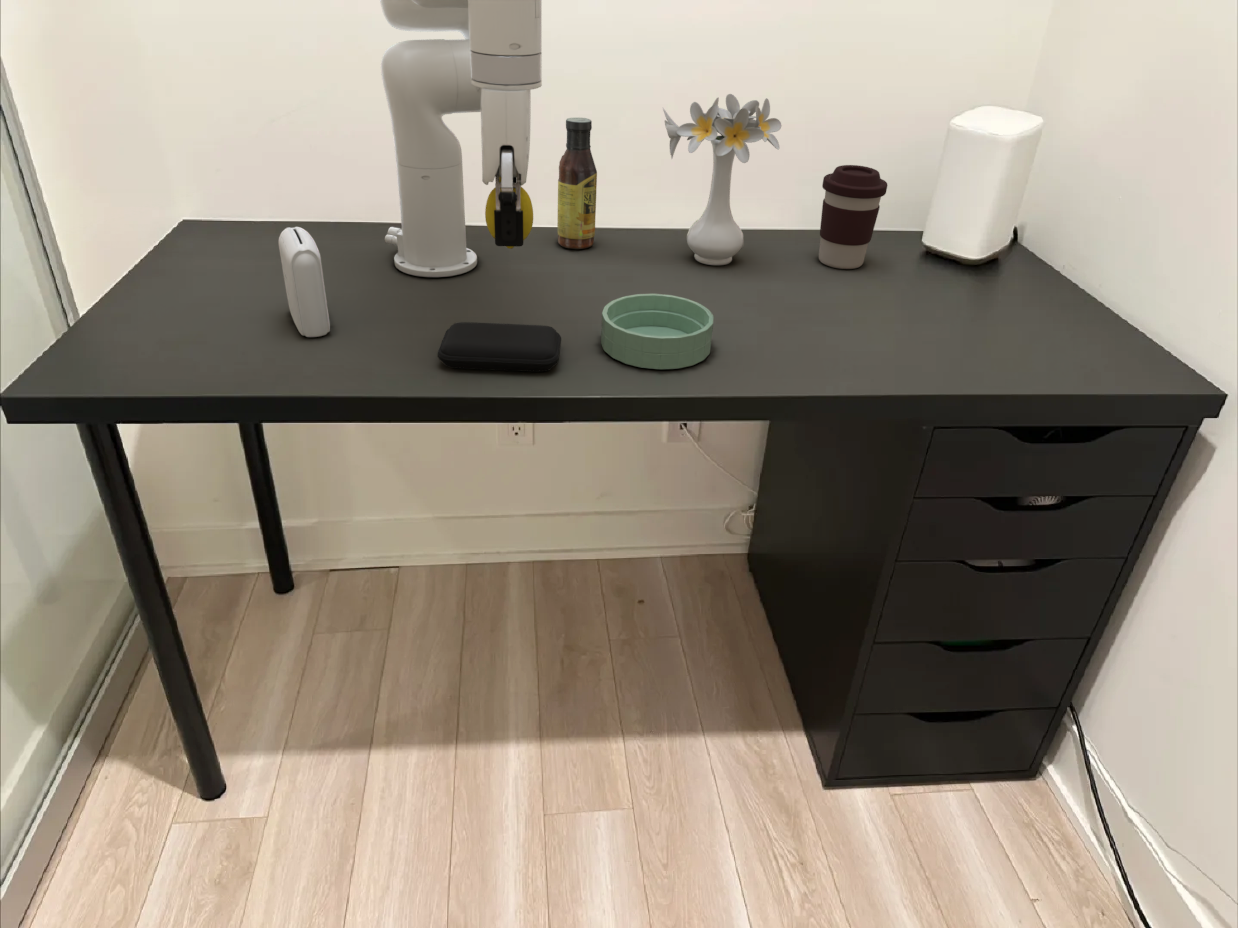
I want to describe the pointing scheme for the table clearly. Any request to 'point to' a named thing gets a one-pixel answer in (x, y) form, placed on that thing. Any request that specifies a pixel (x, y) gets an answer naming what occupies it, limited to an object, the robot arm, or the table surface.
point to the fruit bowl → (656, 331)
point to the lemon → (525, 206)
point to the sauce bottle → (577, 188)
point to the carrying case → (500, 347)
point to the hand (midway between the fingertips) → (509, 234)
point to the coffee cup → (849, 214)
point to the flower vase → (722, 169)
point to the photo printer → (304, 282)
